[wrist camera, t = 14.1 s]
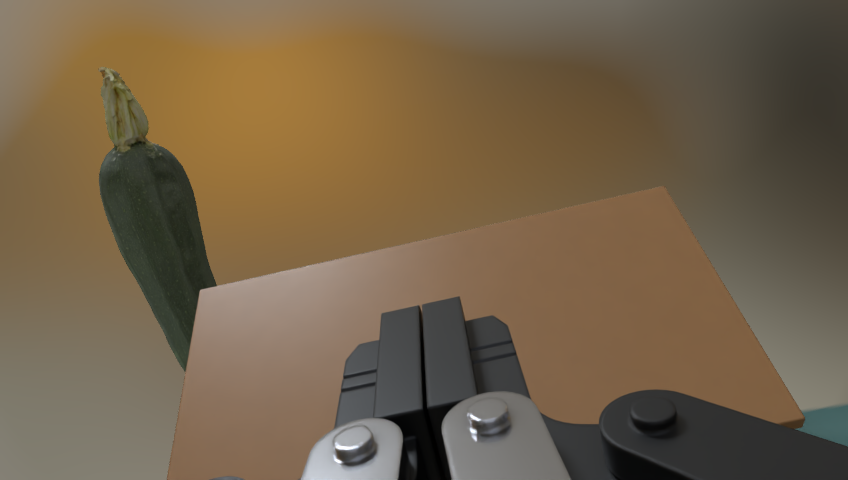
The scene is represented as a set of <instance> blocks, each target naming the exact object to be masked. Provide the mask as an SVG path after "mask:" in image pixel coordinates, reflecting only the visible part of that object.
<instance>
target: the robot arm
mask: <svg viewBox="0 0 848 480" xmlns="http://www.w3.org/2000/svg"><path fill="white" fill-rule="evenodd" d="M209 480H245V479H243V478H240V477H234V476H225V477H218V478H213V479H209ZM298 480H848V447H847V446H844V445H841V444H838V443H835V442H832V441H829V440H826V439H822V438H819V437H816V436H813V435H810V434H807V433H804V432H801V431H798V430H795V429H792V428H788V427H785V426H782V425H779V424H776V423H773V422H770V421H767V420H764V419H761V418H758V417H754V416H751V415H748V414H745V413H742V412H739V411H736V410H733V409H730V408H727V407H723V406H720V405H717V404H714V403H711V402H708V401H705V400H702V399H699V398H696V397H693V396H689V395H686V394H683V393H679V392H676V391H670V390H658V389H654V390H642V391H636V392H632V393H629V394H626V395H623V396H621V397H619V398H617V399H615V400H614V401H612V402H611V403H609V404H608V405H607V406H606V407H605V408H604V410H603V411H602V413H601V415H600V418H599V424H573V423H566V422H561V421H558V420H554V419H552V418H549V417H547V416H546V415H544V414H542V413H541V412H540V411H539V410H538V408H537V406H536V405H535V403H534V402H533V401H532V400H531V397H530V394H529V391H528V388H527V385H526V382H525V378H524V375H523V372H522V369H521V366H520V362H519V359H518V356H517V353H516V350H515V347H514V343H513V340H512V337H511V334H510V331H509V327H508V325H507V324H505V323H504V322H502V321H501V320H499V319H498V318H496V317H495V316H493V315H491V316H486V317H482V318H477V319H472V320H468V321H465V317H464V312H463V308H462V304H461V300H460V296H458V297H453V298H449V299H444V300H440V301H435V302H430V303H426V304H422V311H421V308H420V306H419V305H417V306H413V307H408V308H403V309H399V310H394V311H390V312H385V313H382V314H381V323H380V335H379V340H376V341H371V342H367V343H362V344H359V345H358V346H357V347H356V348H355V350H354V351H353V352H352V353H351V354H350V356H349V357H348V358H347V359H346V361H345V367H344V373H343V379H342V385H341V393H340V396H339V402H338V408H337V414H336V420H335V426H334V429H333V430H331V431H330V432H328V433H327V434H325V435H324V436H323V437H322V438H320V439H319V440H318V441H317V442H316V444H315V445H314V446H313V448H312V449H311V451H310V453H309V456H308V459H307V462H306V465H305V468H304V471H303V474H302V477H301V478H300V479H298Z"/></svg>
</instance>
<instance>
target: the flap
mask: <svg viewBox="0 0 848 480" xmlns="http://www.w3.org/2000/svg"><path fill="white" fill-rule="evenodd" d="M458 296H460V300H461V304H462V308H463V312H464V317H465V321H468V320H472V319H477V318H482V317H486V316H491V315H493V316H495V317H496V318H498V319H499V320H501V321H502V322H504V323H505V324H507V325H508V327H509V331H510V334H511V337H512V340H513V343H514V347H515V350H516V353H517V356H518V359H519V362H520V366H521V369H522V372H523V375H524V378H525V382H526V385H527V388H528V391H529V394H530V397H531V400H532V401H533V402H534V403H535V405H536V406H537V408H538V410H539V411H540V412H541V413H542V414H544V415H546V416H547V417H549V418H552V419H554V420H558V421H561V422H566V423H573V424H599V418H600V415H601V413H602V411H603V410H604V408H605V407H606V406H607V405H608V404H609V403H611V402H612V401H614V400H615V399H617V398H619V397H621V396H623V395H626V394H629V393H632V392H636V391H642V390H654V389H658V390H670V391H676V392H679V393H683V394H686V395H689V396H693V397H696V398H699V399H702V400H705V401H708V402H711V403H714V404H717V405H720V406H723V407H727V408H730V409H733V410H736V411H739V412H742V413H745V414H748V415H751V416H754V417H758V418H761V419H764V420H767V421H770V422H773V423H776V424H779V425H782V426H785V427H788V428H792V429H796V428H801V427H802V426H803V424H804V421H805V417H804V415H803V414H802V412H801V410H800V409H799V407H798V405H797V404H796V402H795V401H794V399H793V397H792V396H791V394H790V392H789V391H788V389H787V387H786V386H785V384H784V382H783V381H782V379H781V377H780V376H779V374H778V373H777V371H776V369H775V368H774V366H773V364H772V363H771V361H770V359H769V358H768V356H767V354H766V353H765V351H764V350H763V348H762V346H761V345H760V343H759V341H758V340H757V338H756V336H755V335H754V333H753V331H752V330H751V328H750V326H749V325H748V323H747V322H746V320H745V318H744V317H743V315H742V313H741V312H740V310H739V308H738V307H737V305H736V303H735V302H734V300H733V298H732V297H731V295H730V293H729V292H728V290H727V288H726V287H725V285H724V283H723V282H722V280H721V279H720V277H719V275H718V274H717V272H716V270H715V269H714V267H713V266H712V264H711V262H710V260H709V259H708V257H707V256H706V254H705V252H704V251H703V249H702V247H701V246H700V244H699V242H698V241H697V239H696V237H695V236H694V234H693V232H692V231H691V229H690V227H689V226H688V224H687V223H686V221H685V220H684V218H683V216H682V214H681V213H680V211H679V209H678V208H677V206H676V205H675V203H674V201H673V199H672V198H671V196H670V194H669V193H668V191H667V190H666V188H665V186H661V187H657V188H653V189H648V190H643V191H639V192H634V193H630V194H625V195H621V196H617V197H612V198H608V199H603V200H599V201H595V202H590V203H585V204H581V205H577V206H572V207H567V208H563V209H559V210H555V211H550V212H545V213H541V214H536V215H532V216H527V217H523V218H519V219H514V220H510V221H505V222H501V223H496V224H492V225H488V226H483V227H478V228H474V229H470V230H465V231H460V232H457V233H452V234H447V235H443V236H438V237H434V238H429V239H425V240H420V241H416V242H412V243H407V244H403V245H398V246H394V247H389V248H385V249H381V250H376V251H371V252H367V253H362V254H358V255H354V256H349V257H345V258H340V259H336V260H331V261H327V262H322V263H318V264H313V265H309V266H304V267H300V268H296V269H291V270H287V271H282V272H278V273H273V274H269V275H264V276H260V277H255V278H251V279H246V280H242V281H238V282H233V283H229V284H224V285H220V286H215V287H211V288H206V289H202V290H200V292H199V298H198V304H197V309H196V315H195V321H194V326H193V332H192V338H191V344H190V349H189V355H188V361H187V366H186V372H185V378H184V384H183V389H182V395H181V401H180V406H179V412H178V418H177V424H176V429H175V435H174V441H173V447H172V452H171V458H170V464H169V470H168V475H167V480H209V479H213V478H218V477H225V476H234V477H240V478H243V479H245V480H298V479H300V478H301V477H302V474H303V471H304V468H305V465H306V462H307V459H308V456H309V453H310V451H311V449H312V448H313V446H314V445H315V444H316V442H317V441H318V440H319V439H320V438H322V437H323V436H324V435H325V434H327V433H328V432H330V431H331V430H333V429H334V426H335V420H336V414H337V408H338V402H339V396H340V393H341V385H342V379H343V373H344V367H345V361H346V359H347V358H348V357H349V356H350V354H351V353H352V352H353V351H354V350H355V348H356V347H357V346H358V345H359V344H362V343H367V342H371V341H376V340H379V335H380V323H381V314H382V313H385V312H390V311H394V310H399V309H403V308H408V307H413V306H417V305H419V306H420V308H421V311H422V304H426V303H430V302H435V301H440V300H444V299H449V298H453V297H458Z"/></svg>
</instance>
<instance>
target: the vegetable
mask: <svg viewBox="0 0 848 480" xmlns="http://www.w3.org/2000/svg"><path fill="white" fill-rule="evenodd" d="M98 70H99V71H100V72H102V76H103V78H104V79H103V86H102V87H101V96H102V97H103V103H104V108H105V118H106V124H107V129H108V133H109V136H110V139H111V140H112V142H113V143H114V146H115V147H114V148H113V149H112V150H111V151H110V152H109V153H108V154H107V155H106V157H105V159H104V161H103V163H102V165H101V169H100V174H99V186H100V195H101V198H102V202H103V206H104V210H105V213H106V216H107V219H108V221H109V224H110V226H111V229H112V232H113V234H114V237H115V240H116V242H117V245H118V247H119V250H120V252H121V254H122V256H123V258H124V260H125V262H126V264H127V266H128V267H129V269H130V271H131V272H132V274H133V275H134V277H135V279H136V280H137V282H138V284H139V286H140V287H141V289H142V291H143V293H144V295H145V297H146V299H147V301H148V303H149V305H150V306H151V309H152V311H153V313H154V315H155V317H156V319H157V321H158V322H159V324H160V326H161V328H162V329H163V332H164V334H165V336H166V338H167V341H168V343H169V345H170V347H171V349H172V351H173V353H174V354H175V356H176V358H177V360H178V362H179V363H180V365H181V367H182V368H183V369H184V371H185V372H186V366H187V361H188V355H189V349H190V344H191V338H192V332H193V326H194V321H195V315H196V309H197V304H198V298H199V292H200V290H202V289H206V288H211V287H215V286H217V285H216V282H215V279H214V277H213V274H212V272H211V269H210V266H209V262H208V259H207V256H206V250H205V245H204V241H203V236H202V231H201V226H200V222H199V217H198V212H197V206H196V201H195V197H194V193H193V190H192V187H191V184H190V182H189V179H188V177H187V175H186V173H185V171H184V169H183V166H182V165H181V164H180V163H179V162H178V160H177V159H176V158H175V156H174V155H173V154H172V153H170V152H169V151H168V150H167V149H165V148H163V147H161V146H159V145H158V144H155V143H152V142H150V141H148V140H147V139H146V138H145V136H146V135H147V133H148V121H147V117H146V115H145V113H144V111H143V109H142V108H141V106H140V104H139V103H138V101H137V100H136V99H135V97H134V96H133V95H132V93H131V91H130V89H129V88H128V87H127V86H126V85H125V84H124V83H125V82H124V81H123V80H122V78H121V77H119V74H118V73H117V72H116V71H114V70H112V69H109V68H108V69H107V68H106V67H105V68H104V67H100V68H99V69H98Z"/></svg>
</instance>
